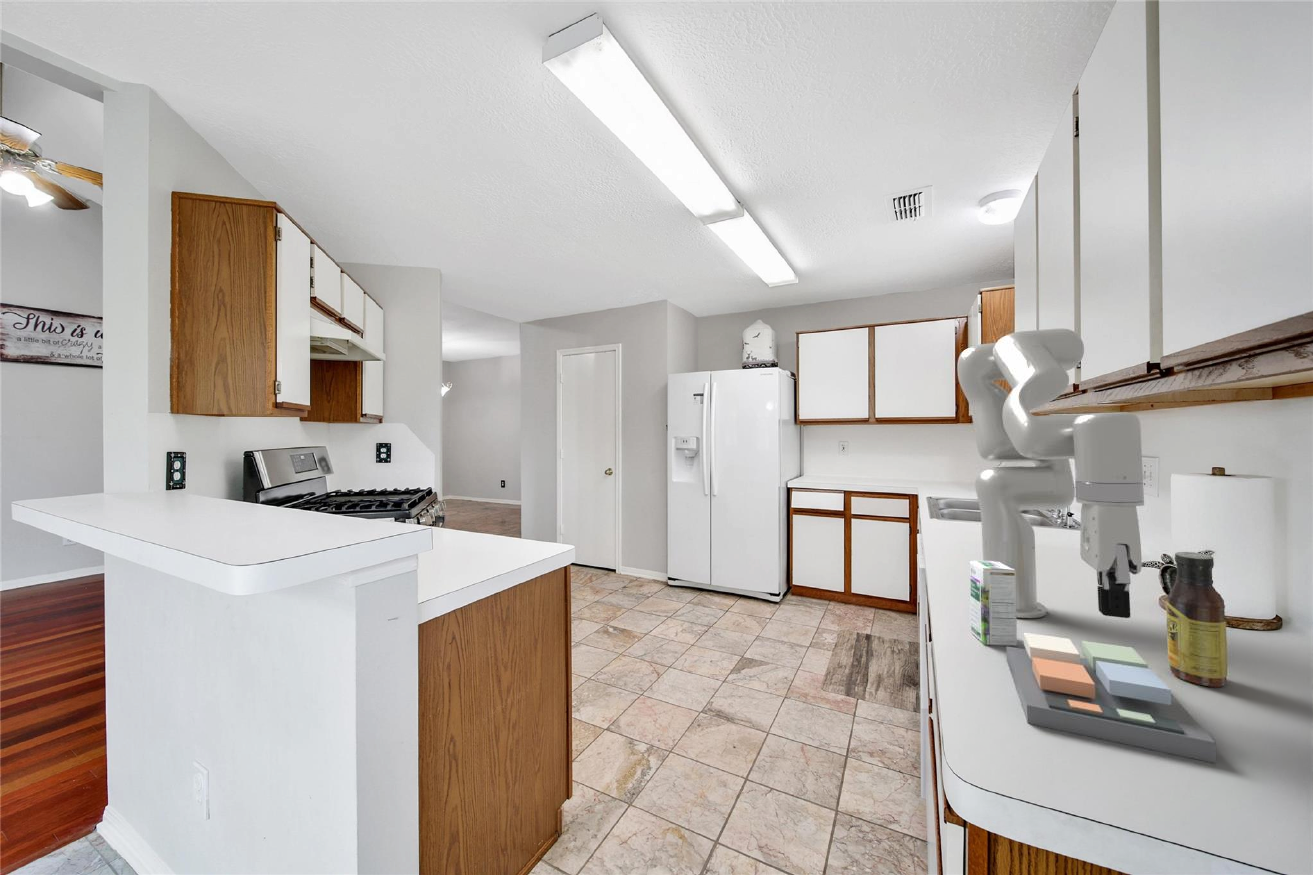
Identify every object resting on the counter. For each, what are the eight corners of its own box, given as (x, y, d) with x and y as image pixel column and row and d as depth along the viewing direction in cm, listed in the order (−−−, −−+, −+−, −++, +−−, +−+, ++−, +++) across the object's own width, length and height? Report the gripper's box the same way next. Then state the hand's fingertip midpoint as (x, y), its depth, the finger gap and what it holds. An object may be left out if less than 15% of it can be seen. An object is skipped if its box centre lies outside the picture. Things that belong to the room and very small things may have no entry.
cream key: (1023, 644, 81) (1023, 632, 81) (1069, 651, 78) (1069, 638, 78) (1030, 659, 75) (1030, 646, 75) (1080, 667, 72) (1079, 654, 72)
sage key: (1081, 652, 77) (1081, 640, 77) (1132, 660, 74) (1132, 647, 74) (1093, 669, 72) (1092, 656, 72) (1148, 678, 69) (1147, 664, 69)
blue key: (1096, 674, 70) (1095, 660, 70) (1152, 683, 67) (1151, 669, 67) (1109, 694, 65) (1109, 679, 65) (1171, 704, 62) (1170, 689, 62)
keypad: (1006, 660, 83) (1006, 642, 83) (1148, 683, 74) (1148, 664, 74) (1027, 722, 66) (1026, 700, 66) (1216, 763, 57) (1215, 737, 57)
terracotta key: (1032, 669, 74) (1032, 657, 74) (1083, 678, 71) (1082, 665, 71) (1040, 688, 69) (1039, 674, 69) (1095, 698, 66) (1094, 684, 66)
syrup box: (969, 632, 95) (967, 560, 95) (1002, 633, 94) (1000, 560, 94) (984, 645, 89) (981, 568, 89) (1019, 646, 88) (1016, 568, 88)
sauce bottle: (1171, 665, 80) (1167, 546, 80) (1229, 679, 75) (1226, 553, 75) (1164, 678, 76) (1161, 553, 76) (1226, 694, 71) (1222, 561, 71)
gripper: (1064, 488, 81) (1069, 597, 81) (1090, 498, 68) (1096, 628, 68) (1124, 489, 77) (1129, 603, 77) (1164, 500, 64) (1170, 637, 64)
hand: (1114, 614), depth 72 cm, fingers closed
